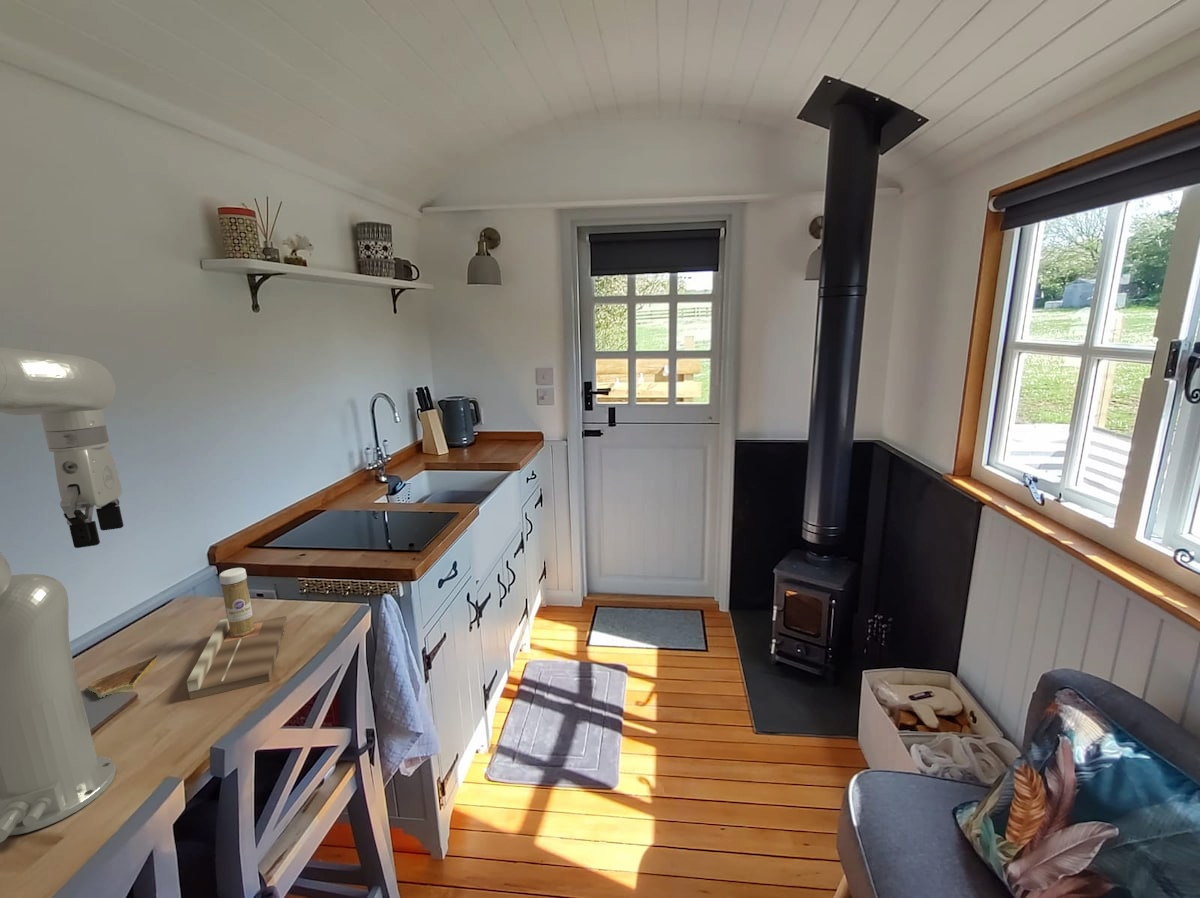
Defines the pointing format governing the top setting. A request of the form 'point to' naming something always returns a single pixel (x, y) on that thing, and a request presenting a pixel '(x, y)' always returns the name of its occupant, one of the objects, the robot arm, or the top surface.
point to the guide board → (236, 658)
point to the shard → (122, 678)
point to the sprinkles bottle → (237, 601)
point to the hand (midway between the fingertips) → (100, 537)
